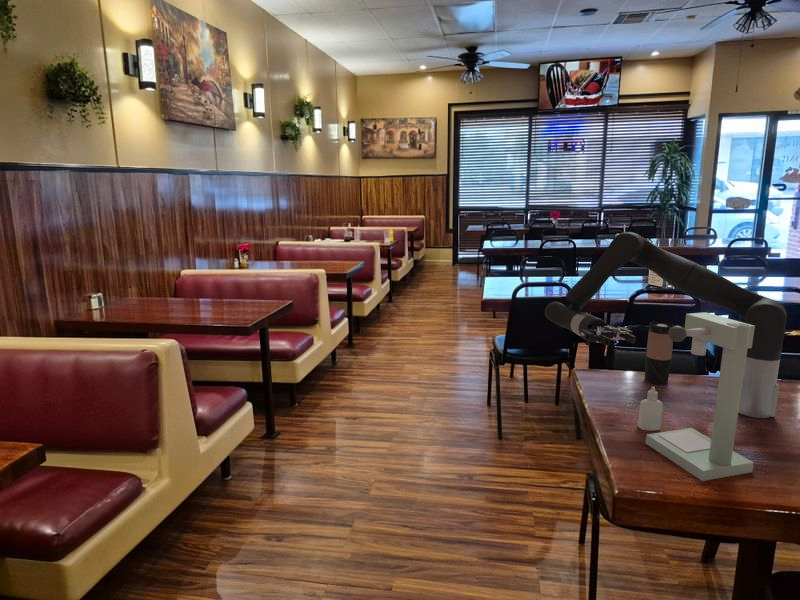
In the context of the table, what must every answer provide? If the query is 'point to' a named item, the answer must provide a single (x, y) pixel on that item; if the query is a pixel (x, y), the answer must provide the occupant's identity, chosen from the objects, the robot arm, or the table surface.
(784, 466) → the table surface
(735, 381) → the arbor press
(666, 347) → the travel mug
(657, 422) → the eye dropper bottle
